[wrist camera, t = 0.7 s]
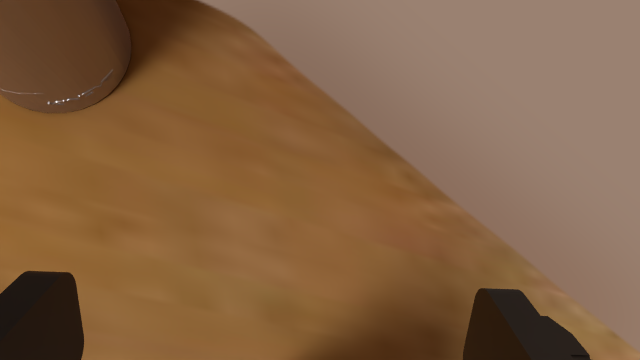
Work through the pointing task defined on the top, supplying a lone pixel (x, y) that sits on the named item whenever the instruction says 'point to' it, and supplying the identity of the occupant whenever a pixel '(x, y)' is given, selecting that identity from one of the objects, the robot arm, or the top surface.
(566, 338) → the robot arm
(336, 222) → the top surface
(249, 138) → the top surface
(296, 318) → the top surface
